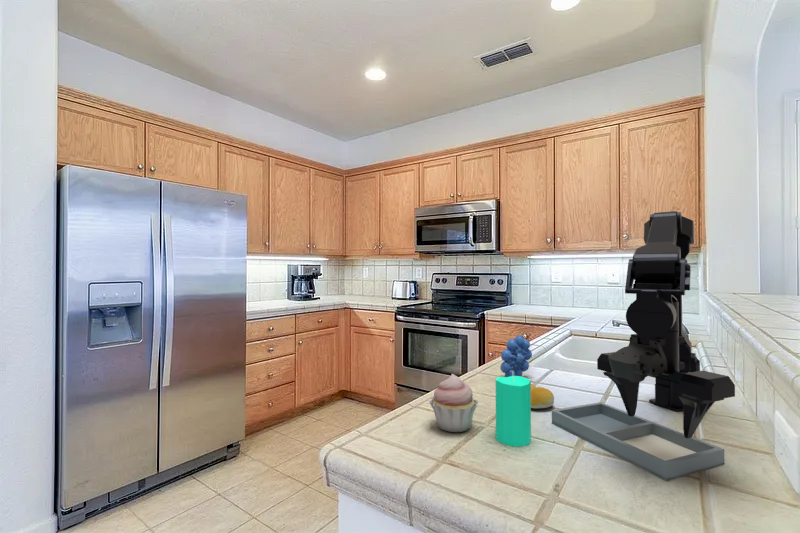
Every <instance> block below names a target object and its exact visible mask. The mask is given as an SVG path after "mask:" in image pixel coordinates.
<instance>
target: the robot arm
mask: <svg viewBox="0 0 800 533" xmlns="http://www.w3.org/2000/svg"><path fill="white" fill-rule="evenodd" d="M694 225H695V223H694V220H692V219H690V218H688V217H685V216H683V215H682V212H681V211H679V212H678V211H677V210H673V211H671V210H670V211H661V212H654V213H653V214H652V213H651V214H650V215H649V220H647V221H646V222H644V224H643V241H644V245H641V246H639V247H637V248H636V249H635V251H634V253H633V254H632V255H633V256H632V258H629V259H628V264H627V272H626V280H625V285H624V286H625V288H624V294H627V295H629V294H633V295H634V294H635V300H634V301H633V302H631V303H630V305H629V306H628V307H627V310H626V312H625V319H626V323H627V325H628V327H629V329H631V331H633V332H634V333H632V334H630V337H629V342H628V345H627V346H623V347H621V348H620V349H617V351H613V352H603V353H600V355H599V356H598V358H597V362H596V363H597V366H596V367H597V368H596V369H597V370H599V371H603V372H602V373H603V375H604V376H605V377H608V378H609V379H610V380H611V381H612V382H613V383H614V384H615V386H616V387H617V390H618V392H619V394H620V397H621V400H622V402H623V406H624V408H625V410H626V411H625V412H627V413H628V415H629V416H631V417H632V416H635V415H636V411H637V409H638V408H637V407H638V399H639V392H640V391H639V390H640V383H641V382H643V381H645V379H646V378H647V377H651V378H654V379H655V383H654V398H650V399H648V402H649V403H651V404H654V405H657V406H659V407H660V406H661V407H663V408H667V409H669V410H672V411H674V412H675V411H676V412H681V411H683V416H682V417H683V420H682V422H683V423H682V426H683V427H682V429H683V430H682V431H683V434H684V437H685V438H687V439H688V438H691V437H693V436H694V433H695V432H696V430H697V429H698V427H699V426H700V424H701V423H702V420H703V419H704V418H705V415H706V414H707V412H708V411H709V410H710V409H711V408H712V406H713V405H714V403H715V402H720V401H724V400H725V399H728V398H735V397H736V384H734V381H733V380H732V378H731V376H729V375H725V374H720V373H715V372H711V371H707V370H701V362H700V360H699V358H698V357H697V356H696V353H695V352H693V351H692V347H693V346H692V342H691V340H690V339H689V338H688V336H687V335H686V334H685V332H684V331H683V296H685V295H686V291H690V290H691V272H692V271H691V270H692V269H691V266H692V265H690V264H689V263H688V259H686V258H687V256H688V255H689V254H690V252H691V245H695V226H694Z"/></svg>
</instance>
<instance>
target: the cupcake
mask: <svg viewBox="0 0 800 533" xmlns="http://www.w3.org/2000/svg"><path fill="white" fill-rule="evenodd" d="M433 394H434V395H433V396H431V400H429V401H428V402H429V404H430V406H431V408H432V409H433V412H434V417H435V421H436V424H437V427H438V428H439V429H441V430H442V431H446V432H450V433H463V432H466V431H468V430H469V429H470V428H471V426H472V422H473V419H474V418H473V417H474V413H475V411H476V409H477V407H478V403H479V400H476V399H474V397H473V394H474V393H473V391H472V388H471V386H470V385H469V384H468V383H466V382H464V381H463V380H462V379H461V378H460V377H458V376H457V375H456V374H454V373H451V375H450V377H449V378H447V379H445V380H443V381H441V382H440V383H439V384H438V387H436V389H435V390H434V392H433Z"/></svg>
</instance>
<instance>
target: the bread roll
mask: <svg viewBox="0 0 800 533" xmlns="http://www.w3.org/2000/svg"><path fill="white" fill-rule="evenodd" d="M554 403H555V396H554V393H553V392H552V391H551V390H550V389H549V388H545V387H541V386H535V384H532V383H531V409H547V408H549V407H552V406H553V405H554Z"/></svg>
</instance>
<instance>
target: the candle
mask: <svg viewBox="0 0 800 533" xmlns="http://www.w3.org/2000/svg"><path fill="white" fill-rule="evenodd" d="M531 381H532V380H531V379H529V378H527V377H524V376H523V375H522V376H513V371H512V376H509V377H505V376H497V378H496V379H495V438H496V440H497V441H498V442H499V443H501V444H503V445H506V446H510V447H525V446H529V445H530V443H531V442H532V408H531V384H532V382H531Z"/></svg>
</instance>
